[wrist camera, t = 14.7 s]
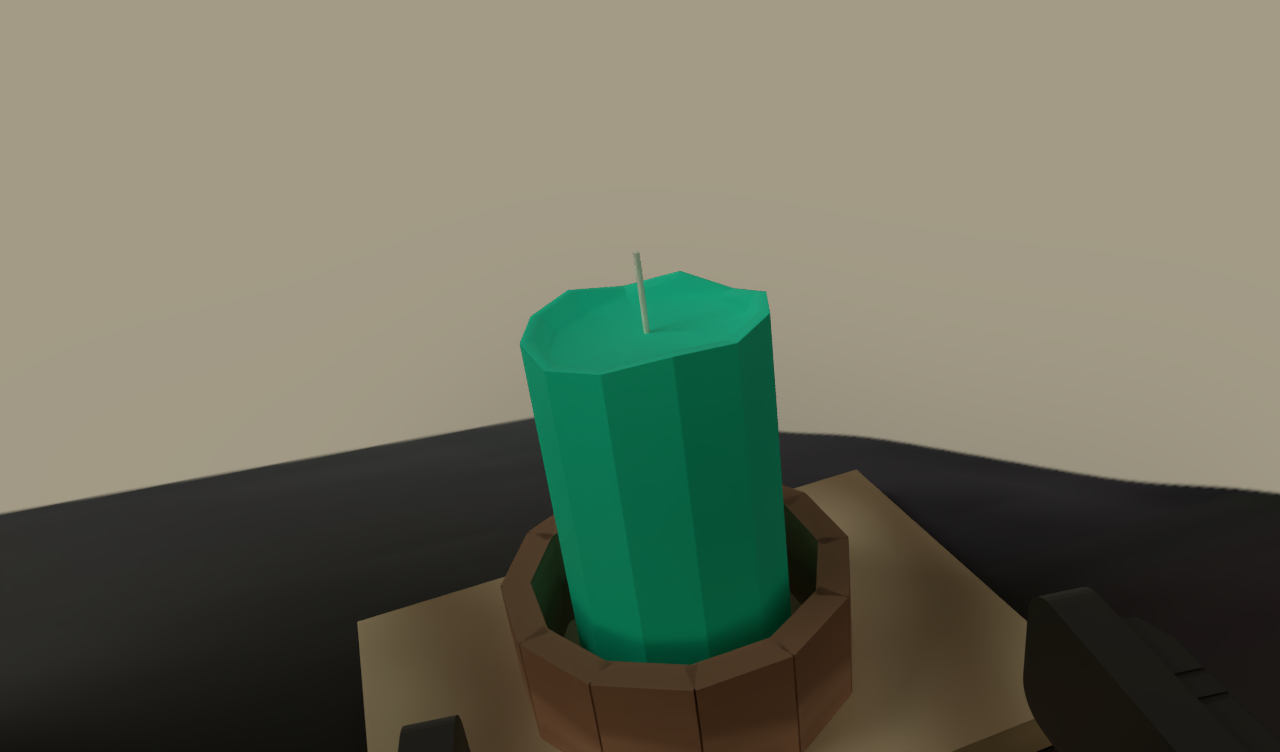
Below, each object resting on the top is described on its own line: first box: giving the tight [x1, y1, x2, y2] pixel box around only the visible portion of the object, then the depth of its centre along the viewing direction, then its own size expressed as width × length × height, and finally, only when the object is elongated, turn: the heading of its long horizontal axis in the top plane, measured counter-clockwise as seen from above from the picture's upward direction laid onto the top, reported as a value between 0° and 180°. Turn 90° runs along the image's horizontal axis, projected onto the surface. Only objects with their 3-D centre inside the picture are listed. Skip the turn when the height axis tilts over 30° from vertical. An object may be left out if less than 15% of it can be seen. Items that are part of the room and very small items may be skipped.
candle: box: [520, 251, 791, 665], centre depth 24 cm, size 6×6×12 cm
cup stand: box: [357, 470, 1052, 752], centre depth 26 cm, size 18×12×4 cm, turn 108°
